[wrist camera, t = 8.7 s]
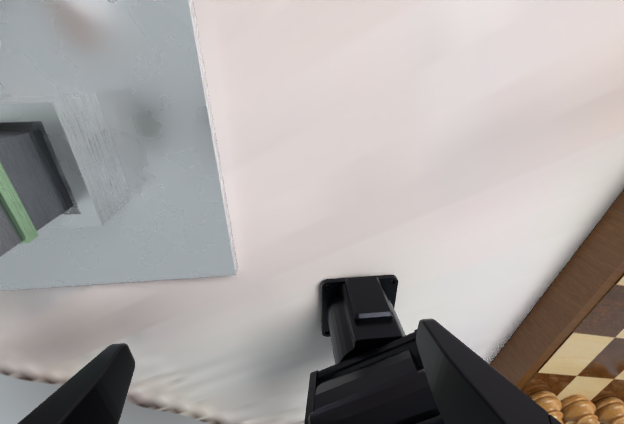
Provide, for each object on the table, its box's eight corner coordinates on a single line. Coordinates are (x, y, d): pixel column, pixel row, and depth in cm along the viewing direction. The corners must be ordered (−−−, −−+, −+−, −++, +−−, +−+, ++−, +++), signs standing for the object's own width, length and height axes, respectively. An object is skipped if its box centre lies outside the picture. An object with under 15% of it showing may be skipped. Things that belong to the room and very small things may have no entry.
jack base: (237, 266, 24) (214, 372, 16) (-2, 282, 22) (-159, 405, 14) (182, -62, 14) (56, -210, 6) (-232, -65, 13) (-1022, -254, 5)
